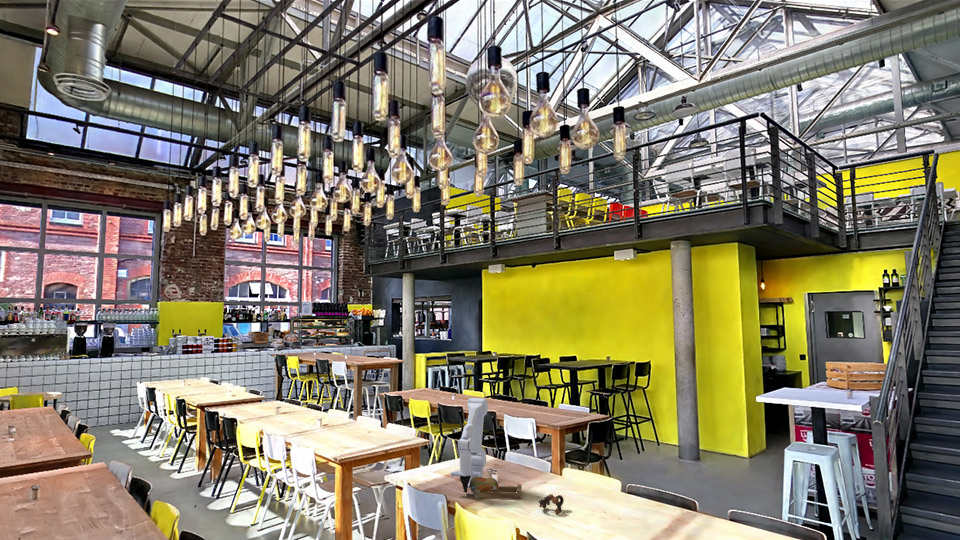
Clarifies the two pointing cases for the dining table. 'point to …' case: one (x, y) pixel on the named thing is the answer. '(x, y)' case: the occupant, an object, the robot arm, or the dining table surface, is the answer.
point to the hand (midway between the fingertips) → (465, 491)
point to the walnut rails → (502, 492)
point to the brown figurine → (554, 500)
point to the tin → (483, 484)
